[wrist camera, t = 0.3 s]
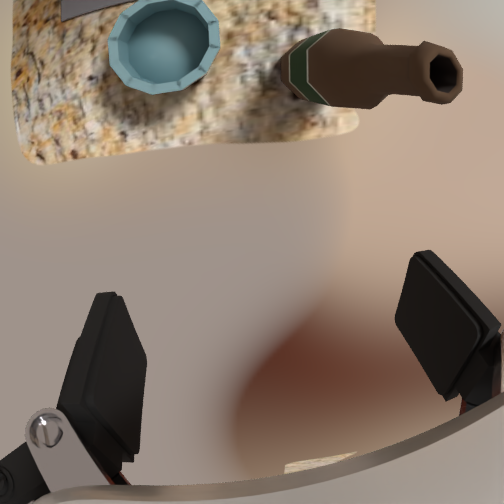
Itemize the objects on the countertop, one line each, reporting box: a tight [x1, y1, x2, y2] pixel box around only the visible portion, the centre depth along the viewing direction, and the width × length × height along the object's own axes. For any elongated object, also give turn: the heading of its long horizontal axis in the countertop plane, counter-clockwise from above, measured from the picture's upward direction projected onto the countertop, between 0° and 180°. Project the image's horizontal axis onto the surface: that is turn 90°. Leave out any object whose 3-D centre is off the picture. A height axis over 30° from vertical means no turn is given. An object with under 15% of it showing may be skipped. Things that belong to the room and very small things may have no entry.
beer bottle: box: [281, 28, 463, 109], centre depth 22 cm, size 8×8×24 cm
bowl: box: [108, 0, 220, 95], centre depth 26 cm, size 11×11×6 cm
